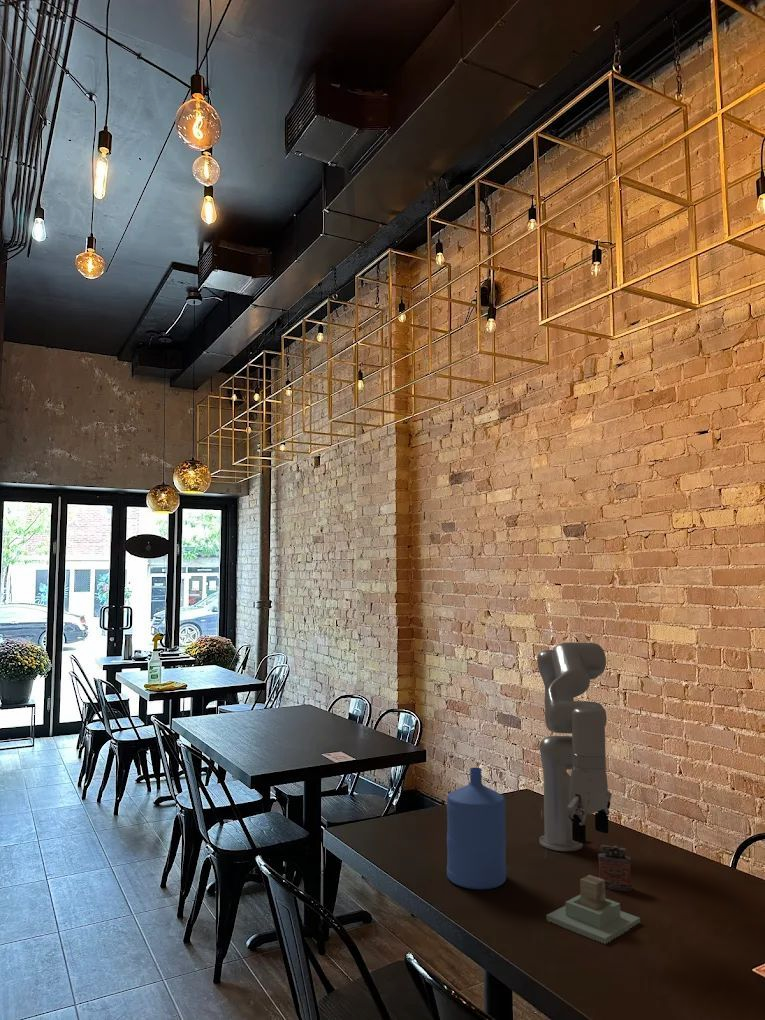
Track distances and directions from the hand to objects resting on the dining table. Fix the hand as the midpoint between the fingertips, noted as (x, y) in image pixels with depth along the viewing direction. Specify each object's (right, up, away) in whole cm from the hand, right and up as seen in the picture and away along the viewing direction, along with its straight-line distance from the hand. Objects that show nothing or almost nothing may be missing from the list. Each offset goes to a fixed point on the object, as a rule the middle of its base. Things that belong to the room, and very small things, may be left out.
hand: (590, 836), depth 166 cm
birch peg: (0, -17, -2) cm, 17 cm away
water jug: (-24, -21, +22) cm, 39 cm away
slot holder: (0, -18, -3) cm, 19 cm away
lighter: (+11, -21, +17) cm, 29 cm away
